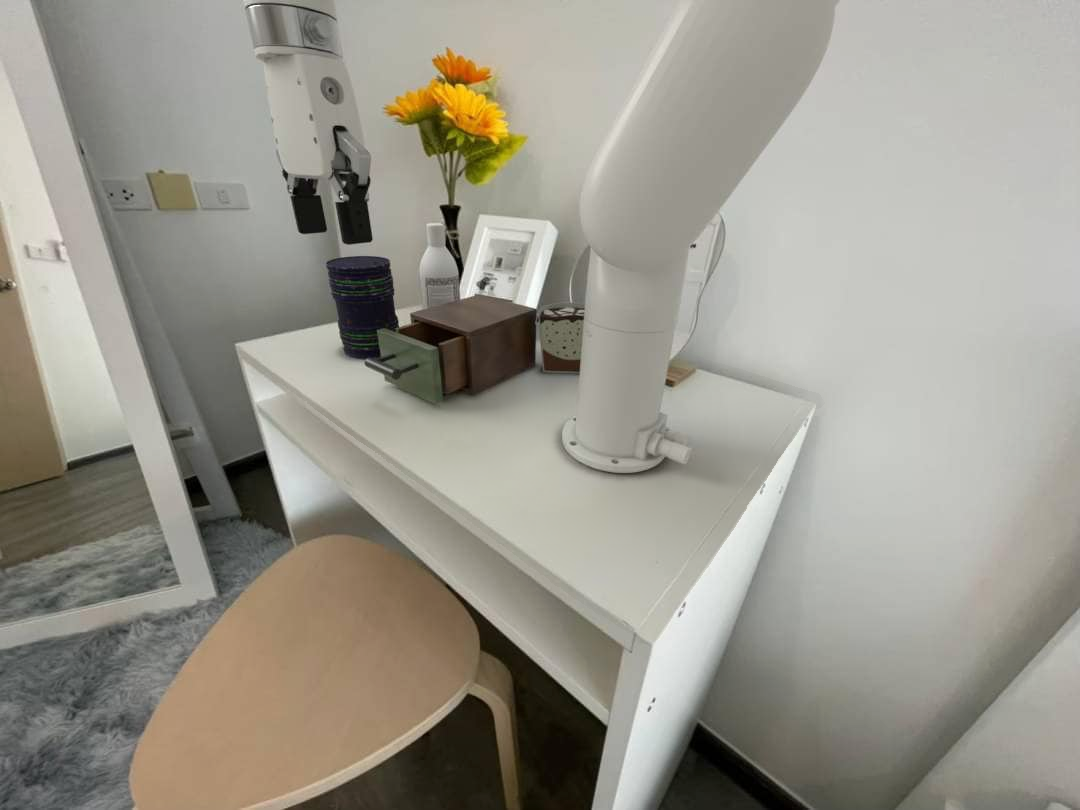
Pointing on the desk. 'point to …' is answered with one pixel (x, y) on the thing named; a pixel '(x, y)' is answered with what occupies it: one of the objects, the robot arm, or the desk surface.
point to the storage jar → (362, 302)
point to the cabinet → (488, 336)
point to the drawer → (422, 360)
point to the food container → (561, 336)
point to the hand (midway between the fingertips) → (334, 237)
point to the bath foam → (438, 270)
